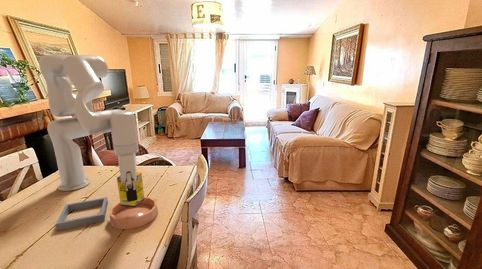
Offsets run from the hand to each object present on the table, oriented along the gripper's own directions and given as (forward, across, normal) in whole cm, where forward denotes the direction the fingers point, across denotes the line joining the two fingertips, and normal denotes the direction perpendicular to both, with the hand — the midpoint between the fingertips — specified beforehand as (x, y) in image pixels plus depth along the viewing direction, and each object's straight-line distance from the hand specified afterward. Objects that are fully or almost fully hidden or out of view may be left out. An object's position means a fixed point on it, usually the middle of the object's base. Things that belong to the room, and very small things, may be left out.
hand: (132, 194), depth 88 cm
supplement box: (+3, 0, 0) cm, 3 cm away
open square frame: (+8, -8, -17) cm, 21 cm away
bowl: (+8, 0, 0) cm, 8 cm away
